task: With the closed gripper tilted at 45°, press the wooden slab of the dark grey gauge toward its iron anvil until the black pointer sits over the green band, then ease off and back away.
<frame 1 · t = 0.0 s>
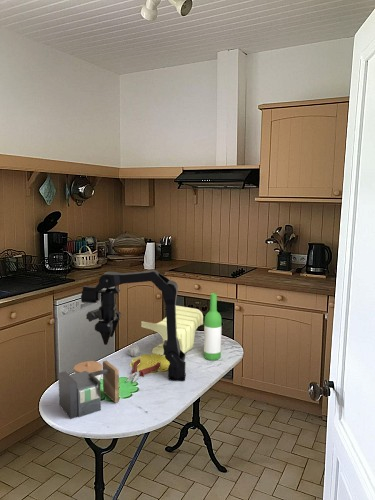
hand: (108, 340, 171), 15 cm above the table, tool pointing down, fingers open, 9 cm apart
pliers: (138, 373, 177), on the table
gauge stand: (112, 397, 155), on the table
wooden slab: (102, 385, 150), point 6 cm above the table, slide at 0.0 cm
garlic: (134, 356, 194), on the table
lidded jar: (88, 385, 164), on the table
wine bottle: (212, 358, 192), on the table
slatted curved stool: (173, 352, 199), on the table
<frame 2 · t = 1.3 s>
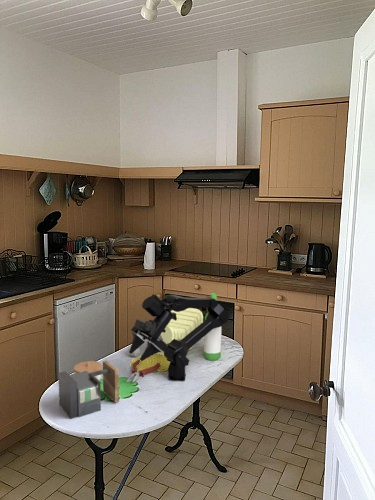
hand: (135, 356, 159), 13 cm above the table, tool tilted 45°, fingers open, 8 cm apart
nothing on the table moved.
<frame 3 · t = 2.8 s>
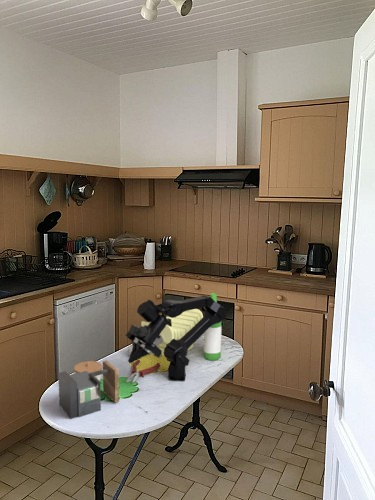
hand: (129, 362, 157), 12 cm above the table, tool tilted 45°, fingers closed
nothing on the table moved.
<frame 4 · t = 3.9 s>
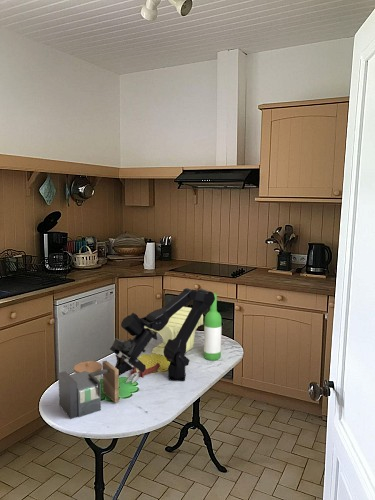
hand: (113, 377, 154), 8 cm above the table, tool tilted 45°, fingers closed, pressing on wooden slab
wooden slab: (102, 385, 150), point 6 cm above the table, slide at 0.1 cm, touching gripper
everything else where it was.
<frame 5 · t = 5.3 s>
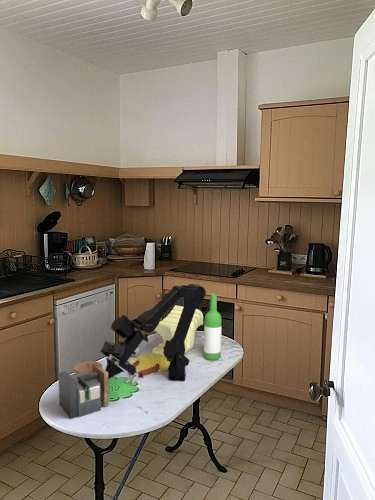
hand: (103, 380, 151), 8 cm above the table, tool tilted 45°, fingers closed
wooden slab: (92, 388, 148), point 6 cm above the table, slide at 4.1 cm
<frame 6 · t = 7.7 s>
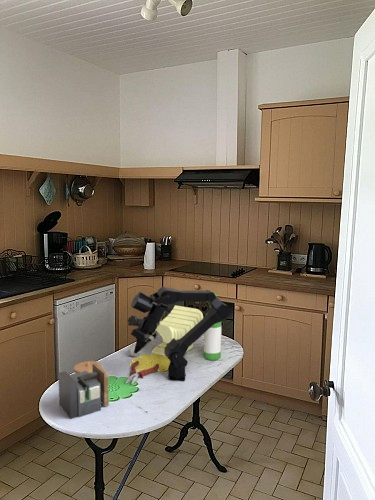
hand: (135, 353, 164), 13 cm above the table, tool tilted 30°, fingers closed
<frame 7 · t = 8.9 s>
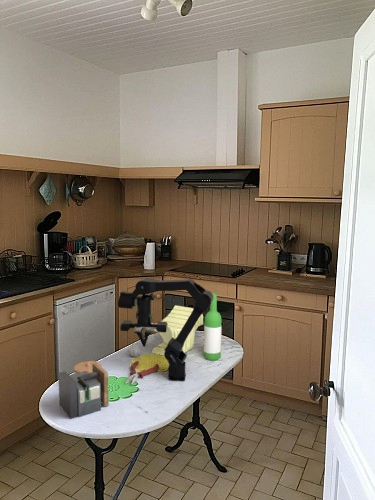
hand: (144, 346, 173), 12 cm above the table, tool pointing down, fingers closed
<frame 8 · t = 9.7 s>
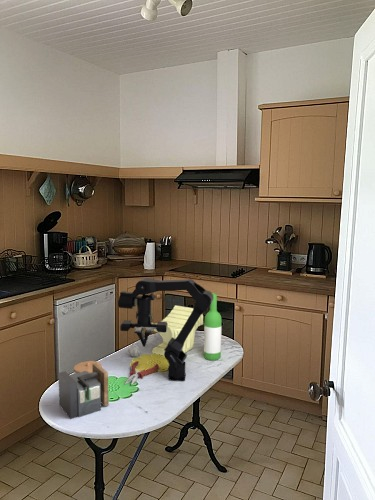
hand: (144, 346, 173), 12 cm above the table, tool pointing down, fingers closed
at the end: wooden slab slide at 4.1 cm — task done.
